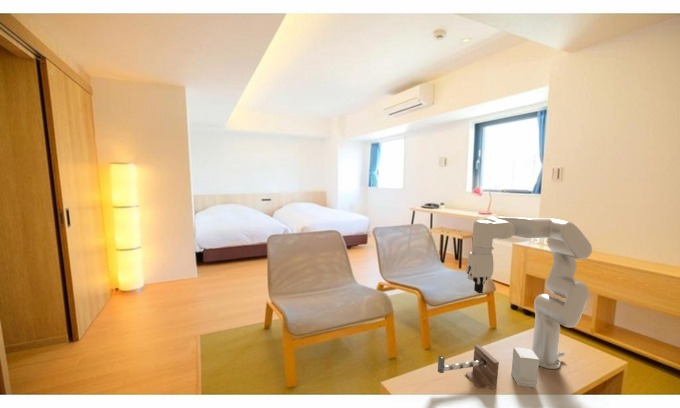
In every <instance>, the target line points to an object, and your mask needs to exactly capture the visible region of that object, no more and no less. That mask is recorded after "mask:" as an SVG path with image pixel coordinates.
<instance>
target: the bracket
mask: <svg viewBox="0 0 680 408" xmlns="http://www.w3.org/2000/svg"><path fill="white" fill-rule="evenodd" d="M473 348H474V351H473V361H477V360H482V361H483V363H484V365H481V366H475V367H472V371H467V372H465V375H466V377H467V378H468V379H469V380H470V381H471V382H472V384H473V385H474V386H475V387H476V388H477V389H482V388H489V389H490V390H491V391H495V390H498V389H497V387H498V377H499V368H500V367H499V365H500V363H499V361H498V360H497V359H496V358H495V357H493V355H491V354H490V353H489V352H488V351H487V350H486V349H484V347H482V346H481V344H474V347H473ZM485 361H486V363H485Z"/></svg>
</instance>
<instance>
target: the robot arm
mask: <svg viewBox="0 0 680 408" xmlns="http://www.w3.org/2000/svg"><path fill="white" fill-rule="evenodd" d="M513 236H515V237H518V238H525V239H545V238H546V239H547V241H546V242H547V246H548V248H549V249H550V252H551V254H552V257H553V262H552V265H551V267H550V268H551V269H550V271H549V274H548V276H547V279H546V282H545V288H546V289H547V290H548V291H549V292H550V293H552V294H553V295H552V294H547V293H540V294H538V295H537V296H536V297H535V299H534V303H533V307H534V315H535V316H534V317H535V318H534V319H535V320H534V328H533V329H534V330H533V338H532V345H531V346H532V347H531V349H532V350H533V352H534V353H535V354H536V356H537V357H538V358H539V367H542V368H545V369H548V370H549V369H550V370H556V369H560V367H561V361H560V360H559V359H560V357H565V352H564V351H559V350H558V349H559V342H560V334H561V326H564V327H566V328H575V327H576V326H577V325H578V324H579V322H580V320H581V318H582V315H583V312H584V311H585V307H586V306H587V302H588V300H589V296H590V290H589V287H588V286H587V285H586V284H585V283H584V282H582V281H580V280H578V279H575V278H574V277H575V275H576V274H575V273H576V271H577V261H576V259H577V260H586V259H588V258H589V257H590V256H591V254H592V251H593V247H592V244H591V243H590V242H591V241H590V240H588V238H587V237H586V236H585V235H584V233H583V232H582V231H581V230H580V229H579V227H578V226H577V225H575V224H574V223H573V222H571V221H568V220H567V221H566V220H562V219H558V218H552V217H551V218H550V217H538V218H537V217H535V218H534V217H533V218H531V217H528V218H527V217H509V216H507V217H506V216H487V217H485V218H483V219H477V220H475V221H474V222H473V227H472V242H471V251H470V252H469V253H468V257H467V260H466V266H465V267H466V268H465V273H466V274H467V279H468V280H470V281H473V282H474V285H473V286H474V287H473V289H474V290H473V291H475V292H476V293H478V294H483V293H484V292H483V291H484V285H485V284H486V282H487V280H489V279H491V278H492V276H493V273H494V255H493V253H492V251H493V250H494V247H493V241H494V239H498V240H499V239H500V240H508V239H511V238H512V237H513ZM554 295H556V296H558V297H560V298H563V299H564V301H563V300H562V299H559V298H557V297H555V296H554ZM560 325H561V326H560Z"/></svg>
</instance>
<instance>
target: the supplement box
mask: <svg viewBox="0 0 680 408" xmlns="http://www.w3.org/2000/svg"><path fill="white" fill-rule="evenodd" d="M512 352H513V353H512V363H511V372H510V374H511V376H512V377H513V380H514V382H515V383H516V384H517V386H522V387H527V388H537V386H538V378H539V377H538V376H539V367H540V366H539V358H538V357H537V356H536V354H535V353H534V352H533V350H532V348H525V347H515V346H514V347H513V351H512Z"/></svg>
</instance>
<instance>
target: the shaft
mask: <svg viewBox="0 0 680 408" xmlns="http://www.w3.org/2000/svg"><path fill="white" fill-rule="evenodd" d="M445 359H446V358H445V356H443V355H438V358H437V372H438V373H439V374H444V373H445V372H449V371H455V370H460V369H461V370H463V369H467V368H473V367H475V366H481V365H484V363H483V361H482V360H477V361H474V360H472V361H471V360H470V361H465V362H459V363H452V364H446V365H445Z"/></svg>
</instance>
